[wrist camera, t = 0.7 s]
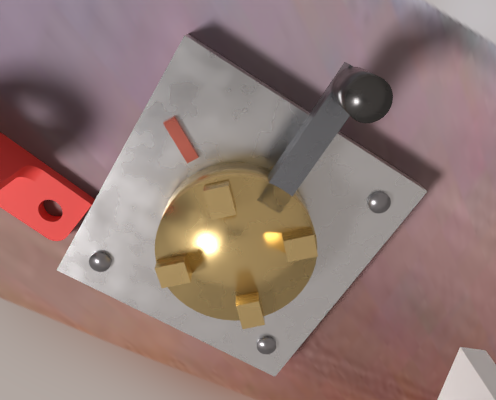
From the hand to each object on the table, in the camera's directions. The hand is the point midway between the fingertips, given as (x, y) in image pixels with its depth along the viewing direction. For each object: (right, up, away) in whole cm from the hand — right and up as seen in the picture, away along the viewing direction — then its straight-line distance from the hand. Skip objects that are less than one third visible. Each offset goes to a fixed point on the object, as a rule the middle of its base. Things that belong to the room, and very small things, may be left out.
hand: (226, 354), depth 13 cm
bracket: (-17, +6, +22) cm, 29 cm away
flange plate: (0, +3, +23) cm, 24 cm away
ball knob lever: (+2, +5, +20) cm, 21 cm away
